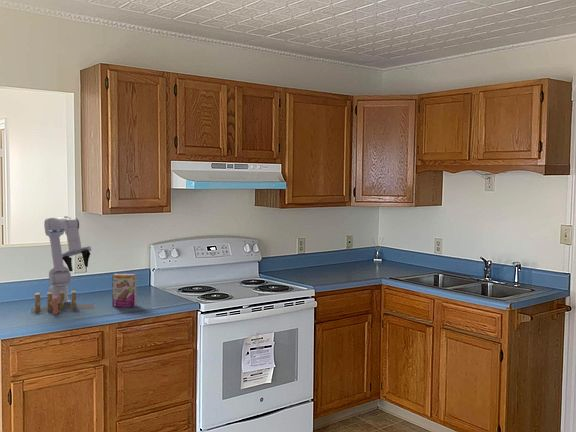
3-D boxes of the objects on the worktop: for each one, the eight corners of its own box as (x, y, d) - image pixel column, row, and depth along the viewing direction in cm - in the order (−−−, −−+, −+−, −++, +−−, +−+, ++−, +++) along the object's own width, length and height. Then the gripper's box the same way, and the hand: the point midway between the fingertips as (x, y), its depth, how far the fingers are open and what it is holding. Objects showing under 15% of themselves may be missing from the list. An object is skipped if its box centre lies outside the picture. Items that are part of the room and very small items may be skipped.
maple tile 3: (59, 309, 285) (59, 293, 284) (60, 307, 289) (59, 291, 289) (64, 309, 285) (63, 293, 285) (64, 307, 290) (64, 291, 289)
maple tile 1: (35, 311, 281) (34, 294, 280) (35, 308, 285) (35, 292, 285) (39, 310, 282) (39, 294, 281) (40, 308, 286) (40, 292, 286)
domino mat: (30, 314, 277) (30, 313, 277) (31, 308, 288) (31, 307, 288) (94, 309, 287) (94, 308, 287) (93, 304, 298) (93, 303, 298)
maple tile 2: (47, 310, 283) (47, 294, 282) (48, 308, 287) (47, 292, 287) (52, 310, 283) (51, 293, 283) (52, 307, 288) (52, 291, 288)
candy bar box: (112, 307, 292) (111, 275, 291) (114, 305, 297) (114, 273, 296) (134, 307, 293) (134, 275, 292) (136, 305, 298) (136, 273, 297)
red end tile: (53, 315, 275) (53, 298, 275) (53, 312, 280) (53, 296, 279) (57, 314, 276) (57, 298, 275) (58, 312, 281) (57, 296, 280)
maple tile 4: (71, 308, 287) (71, 292, 286) (71, 306, 291) (71, 290, 291) (76, 308, 287) (75, 292, 287) (76, 306, 292) (75, 290, 291)
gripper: (55, 244, 279) (60, 271, 275) (84, 235, 279) (89, 262, 275) (62, 247, 286) (67, 274, 282) (91, 239, 285) (95, 265, 282)
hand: (78, 268), depth 279 cm, fingers open, 7 cm apart
